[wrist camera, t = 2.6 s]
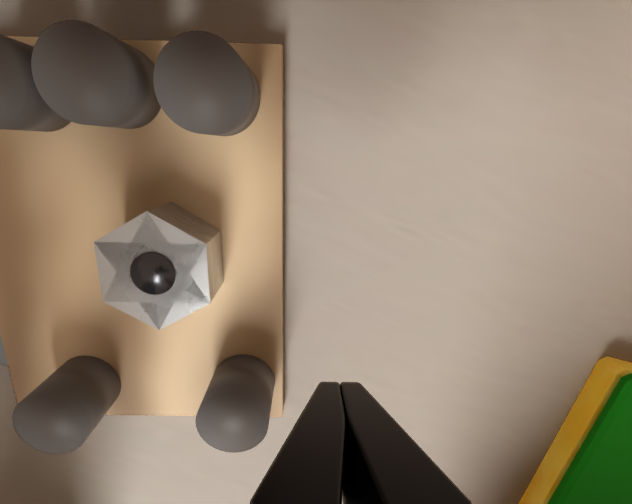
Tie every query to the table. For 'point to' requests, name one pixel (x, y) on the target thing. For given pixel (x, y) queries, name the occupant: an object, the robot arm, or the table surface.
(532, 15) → the table surface
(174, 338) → the board
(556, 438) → the dish sponge
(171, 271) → the hexagonal star candle holder
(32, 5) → the table surface
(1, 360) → the mat
